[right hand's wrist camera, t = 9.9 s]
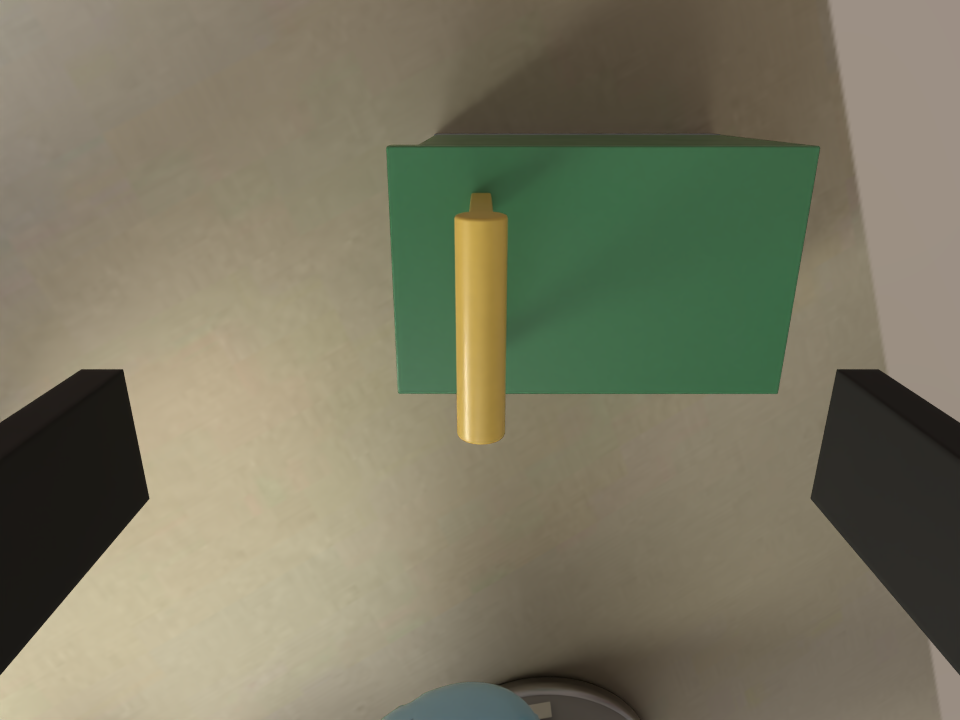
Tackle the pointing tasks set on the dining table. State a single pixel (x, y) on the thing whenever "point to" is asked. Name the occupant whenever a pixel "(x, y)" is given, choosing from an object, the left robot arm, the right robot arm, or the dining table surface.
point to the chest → (595, 139)
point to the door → (593, 270)
